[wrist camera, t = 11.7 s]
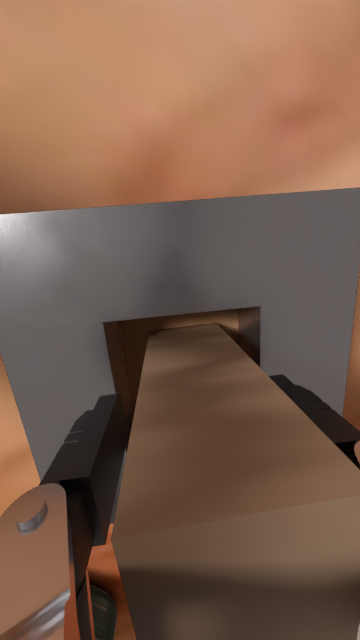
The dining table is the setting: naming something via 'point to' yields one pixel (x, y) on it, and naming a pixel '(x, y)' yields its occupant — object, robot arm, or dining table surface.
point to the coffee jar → (103, 614)
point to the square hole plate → (172, 295)
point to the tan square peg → (232, 503)
